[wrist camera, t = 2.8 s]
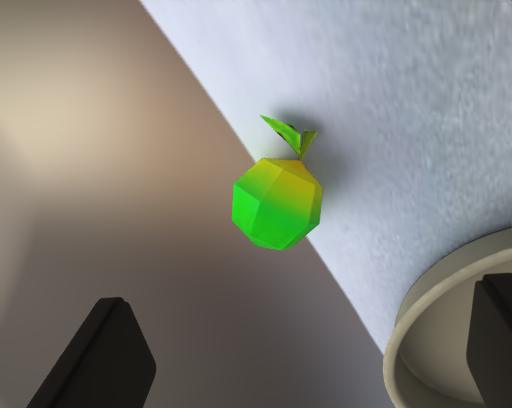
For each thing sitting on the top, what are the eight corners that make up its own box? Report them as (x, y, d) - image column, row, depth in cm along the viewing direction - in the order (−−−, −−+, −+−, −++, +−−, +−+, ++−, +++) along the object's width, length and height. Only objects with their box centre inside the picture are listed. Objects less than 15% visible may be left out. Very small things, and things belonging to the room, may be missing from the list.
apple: (297, 254, 29) (352, 151, 28) (298, 282, 23) (370, 152, 22) (216, 213, 29) (267, 108, 28) (197, 231, 23) (260, 97, 22)
